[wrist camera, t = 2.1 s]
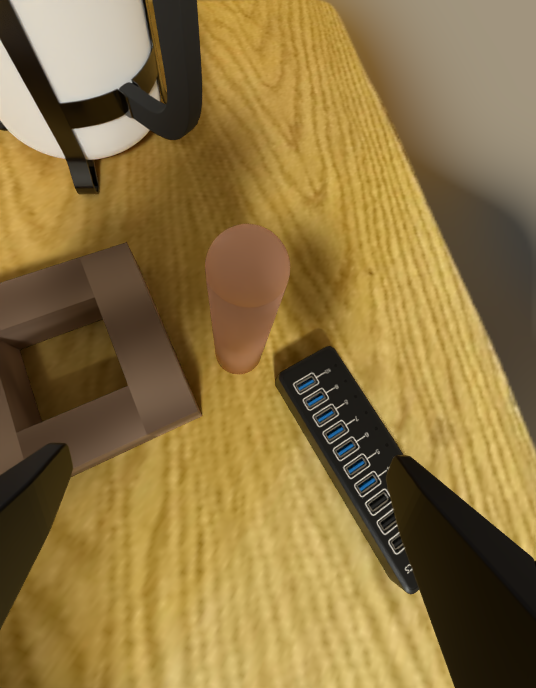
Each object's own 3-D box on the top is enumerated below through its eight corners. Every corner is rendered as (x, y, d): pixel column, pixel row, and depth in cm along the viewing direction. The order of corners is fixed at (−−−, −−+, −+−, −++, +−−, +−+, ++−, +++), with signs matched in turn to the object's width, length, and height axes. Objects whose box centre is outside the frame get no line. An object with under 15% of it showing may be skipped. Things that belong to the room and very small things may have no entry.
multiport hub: (322, 352, 25) (331, 343, 22) (442, 539, 22) (466, 550, 19) (271, 381, 23) (276, 374, 21) (390, 582, 20) (409, 598, 18)
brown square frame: (202, 415, 22) (198, 410, 19) (6, 507, 19) (-34, 517, 16) (138, 266, 24) (126, 242, 22) (-42, 327, 22) (-83, 309, 19)
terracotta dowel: (268, 362, 23) (314, 267, 11) (226, 381, 23) (226, 301, 10) (249, 324, 24) (272, 193, 12) (208, 341, 23) (186, 220, 11)
